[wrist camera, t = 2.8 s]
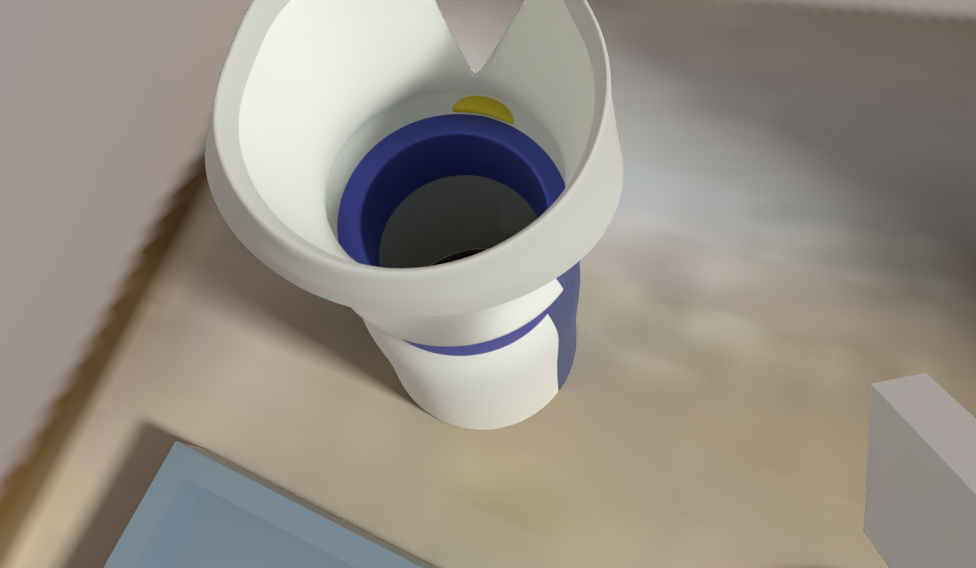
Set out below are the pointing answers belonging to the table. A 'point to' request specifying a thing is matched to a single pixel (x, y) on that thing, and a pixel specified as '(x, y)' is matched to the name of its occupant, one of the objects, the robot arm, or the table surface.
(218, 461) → the blue-gray tray
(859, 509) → the table surface
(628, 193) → the table surface
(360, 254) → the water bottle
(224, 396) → the table surface
